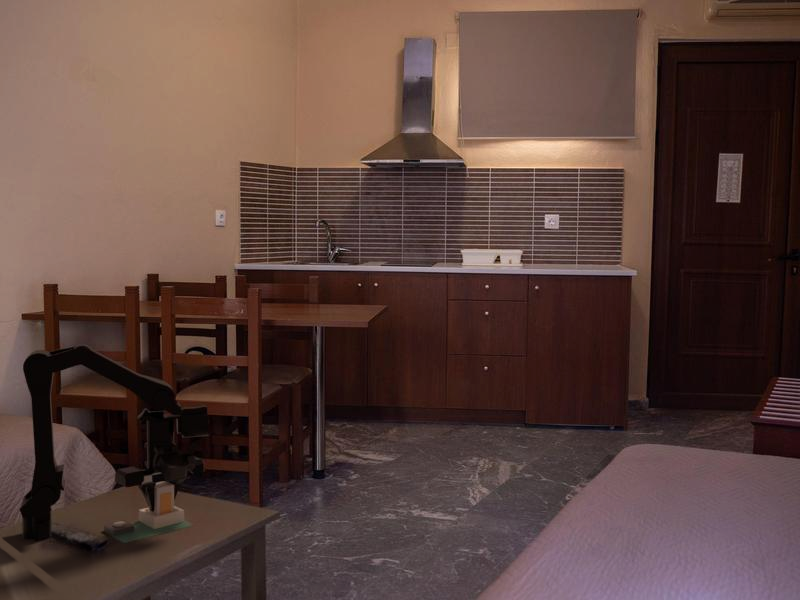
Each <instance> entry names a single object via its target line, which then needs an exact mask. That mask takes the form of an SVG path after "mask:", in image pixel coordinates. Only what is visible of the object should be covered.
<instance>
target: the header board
mask: <svg viewBox="0 0 800 600" xmlns="http://www.w3.org/2000/svg"><path fill="white" fill-rule="evenodd" d="M131 524H133V525H134V531H132V532H128V533H124V534H120V535H116V536H112V535H111V534H109V533H107V532H106V531H104V529H103V530H102V532H104V533H106V534H107V535H108V536H109V535H110V536H111V537H113V538H114V539H116V540H117V541H120V543H122V544H126V543H130V542H133V541H137V540H141V539H142V540H143V539H146V538H150V537H152V536H158V535H161V534H164V533H169V532H173V531H176V530H180V529H185V528H189V527H192V526H194V524H193V523H191V522H189V521H187V520H185V509H182V508H180V507H178V506H176V505H174V512H170V513H166V514H162V515H157V516H155V515H153V514H151V513H149V507H146V508H142V509H141V508H140V509H138V521H137V522H133V523H131Z"/></svg>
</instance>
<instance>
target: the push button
mask: <svg viewBox="0 0 800 600" xmlns="http://www.w3.org/2000/svg"><path fill="white" fill-rule="evenodd" d="M103 530H104V531H106V532H107V533H109V534H111V535H112V536H116V535H120V534H124V533H128V532H132V531H134V525H133V524H132V523H131V522H130V521H127V520H120V521H115V522H111V523H107V524H104V525H103ZM104 531H103V532H104ZM106 532H105V533H106ZM107 533H106V534H107ZM109 534H108V535H109ZM111 535H110V536H111ZM112 536H111V537H112Z"/></svg>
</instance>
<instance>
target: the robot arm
mask: <svg viewBox="0 0 800 600" xmlns="http://www.w3.org/2000/svg"><path fill="white" fill-rule="evenodd" d="M22 364H23V365H22V370H23V374H24V379H25V382H26V386H27V389H28V391H29V394H30V398H31V412H32V413H31V415H32V428H33V429H32V430H33V444H34V445H33V449H34V450H33V451H34V460H35V461H34V468H33V475H32V482H31V489H30V490H29V491H28V492H27V493H26V494H25V495H24V496H23V497H22V500H21V504H20V507H19V512H20V514H21V528H22V529H21V530H22V531H21V536H22V539H25V540H29V541H30V540H33V541H37V542H39V541H42V540H48V539H51V537H52V534H51V530H52V531H53V515H52V514H53V512H52V511H53V510H52V506H54V505H55V504H57V503H58V502H59V500H60V498H61V494H62V492H63V491H65V488H66V479H65V477H64V471H65V470H64V468H65V464H60V465H58V464H57V461H56V457H55V443H54V442H55V441H54V426H53V425H54V424H53V408H52V407H53V406H52V388H53V382H54V375H55V373H58V372H61V371H64V370H67V369H69V368H73V367H77V366H80V365H81V366H83V367H85V368H87V369H89V370H91V371H93V372H95V373H96V374H98V375H100V376H101V377H104V378H106V379H108V380H110V381H112V382H114V383H115V384H117V385H120V386H122V387H123V388H126V389H127V390H129V391H130V392H131V393H133V394H134V395H135V396H136V397H138V398H139V400H141V401H142V402H143V403H144V404H146V405H147V406H149V407H150V408H151V409H152V410H154V411H150V410H149V409H148V408H146V407H144V409H143V410H142V412H140V414H138V415H137V420H138V421H139V422H146V442H145V443H144V445H143V446H144V449H146V455H147V456H146V460H145V461H144V467H145V468H144V469H139V468H137V467H135V466H127V467H123V468H118V469H117V470H116V472H115V473H114V483H117V484H119V485H121V486H123V487H124V488H132V487H136V486H137V487H138V489H139V490H140V492H141V494H142V495H143V498H144V500H145V502H146V504H147V508H149V509H150V511H152V512H153V511H154V505H155V504H154V487H155V485H156V483H157V482H154V481H153V477H157V476H161V475H162V476H163V477H164V479H165V481H166V482H169V483H171V484H173V485H174V502H175V501H176V498H177V494H178V491H179V490H180V488H181V485H182V483H183V482H185V480H187V479H190V477H191V476H190V474H188V471H189V472H190V473H191V474H193V475H195V474H199V473H204V472H205V471H206V470H205V468H206V467H205V466H206V465H205V462H204V460H203V459H202V458H199V457H197V456H196V455H195V454H194V453H193V452H192V451H191V452H186V453H182V454H180V453H179V447H178V444H177V443H175V420H176V432H177V434H180V435H181V437H182V438H197V437H209V435H210V422H209V414H208V406H207V405H205V404H204V405H198V406H186V407H185V406H184V407H182V405H181V403H180V402H178V401H177V400H176V399H175V398H176V397H175V395H176V394H175V392H174V390H173V388H172V386H171V385H170V384H169V383H168V382H167V381H165V380H161V379H158V378H155V377H152V376H149V375H144V374H141V373H138V372H136V371H134V370H132V369H130V368H128V367H126V366H125V365H123V364H121V363H119V362H117V361H115V360H114V359H111V358H110V357H107V356H106V355H104V354H103V353H101V352H99V351H96V350H95V349H93V348H91V347H90V345H88V344H87V343H86V344H85V343H79V344H77V345H74V346H71V347H64V348H60V349H56V350H55V349H54V350H52V351H51V350H50V351H47V350H45V349H44V350H43V349H38V350H37V349H36V350H33V351H32V352H31V353H29V355H27V357H26V359H25V360H24V361H23V363H22ZM164 411H166V412H167V414H166V413H164Z"/></svg>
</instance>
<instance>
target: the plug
mask: <svg viewBox="0 0 800 600" xmlns="http://www.w3.org/2000/svg"><path fill="white" fill-rule="evenodd" d="M155 483H156V485H155V487H154V504H155V505H154V511H153V512H152V511H150V509H149V513H151V514H153V515H155V516H157V515H162V514H166V513H170V512H174V506H175V501H174V485H173V484H171V483H169V482H166V480H165V481H159V482H155Z"/></svg>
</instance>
